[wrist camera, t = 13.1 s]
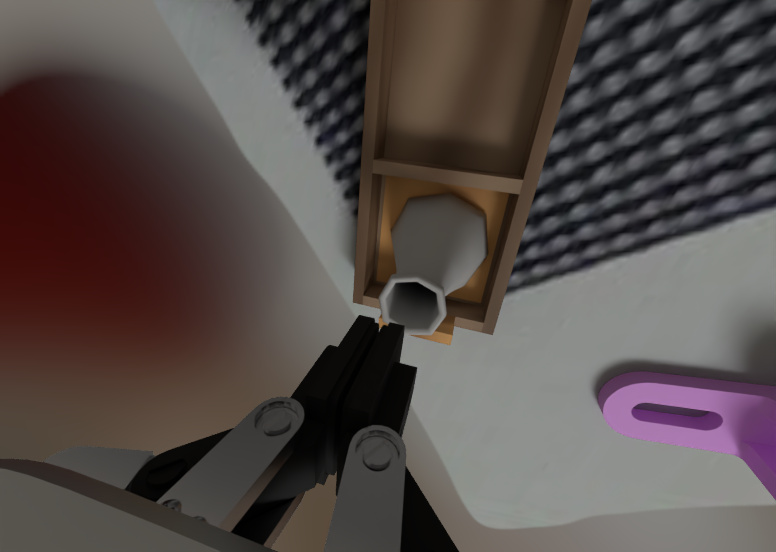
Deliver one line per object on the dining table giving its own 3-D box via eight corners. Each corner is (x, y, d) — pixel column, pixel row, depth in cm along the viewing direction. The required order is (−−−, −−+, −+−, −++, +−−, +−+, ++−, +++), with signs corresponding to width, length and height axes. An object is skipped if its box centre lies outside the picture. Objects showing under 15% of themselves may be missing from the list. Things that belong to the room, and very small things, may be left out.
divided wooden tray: (585, -19, 17) (629, -84, 12) (491, 312, 25) (493, 355, 20) (390, -22, 19) (356, -78, 14) (366, 285, 27) (340, 318, 23)
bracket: (826, 390, 21) (964, 494, 15) (789, 449, 24) (897, 560, 17) (605, 365, 25) (645, 441, 19) (591, 418, 27) (623, 502, 21)
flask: (399, 181, 22) (344, 213, 14) (504, 203, 21) (519, 253, 12) (384, 273, 25) (332, 346, 17) (474, 296, 24) (469, 389, 15)
